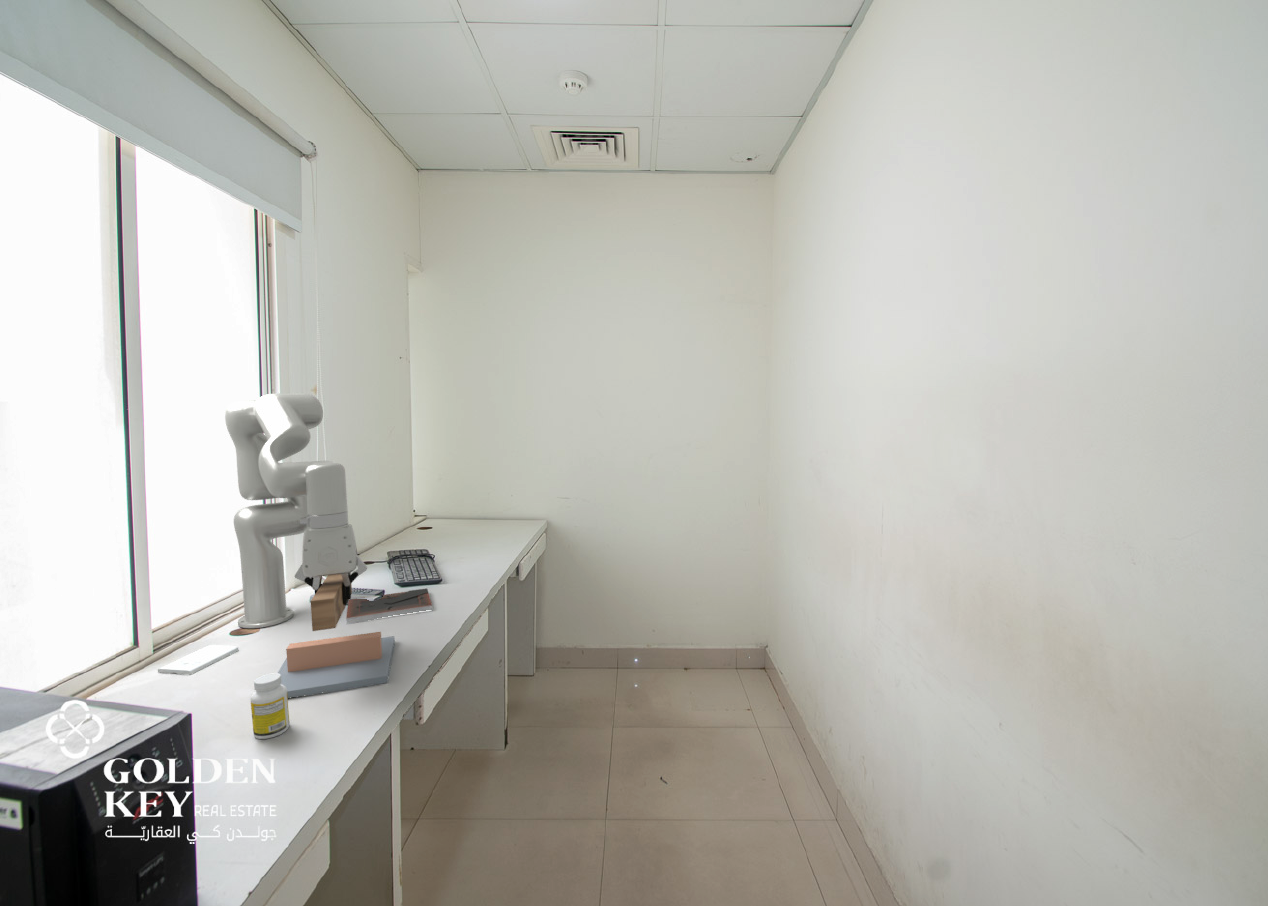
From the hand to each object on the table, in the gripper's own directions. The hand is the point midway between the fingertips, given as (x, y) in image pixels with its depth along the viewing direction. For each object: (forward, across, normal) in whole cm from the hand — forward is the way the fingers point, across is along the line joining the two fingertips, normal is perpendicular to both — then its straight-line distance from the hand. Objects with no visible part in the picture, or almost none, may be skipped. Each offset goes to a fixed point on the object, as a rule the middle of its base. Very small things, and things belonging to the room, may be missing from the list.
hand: (333, 603), depth 122 cm
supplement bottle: (+15, -7, -22) cm, 28 cm away
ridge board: (+15, 0, 0) cm, 15 cm away
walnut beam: (+1, 0, 0) cm, 1 cm away
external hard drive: (+15, -31, +16) cm, 38 cm away
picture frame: (+15, +8, +38) cm, 42 cm away
